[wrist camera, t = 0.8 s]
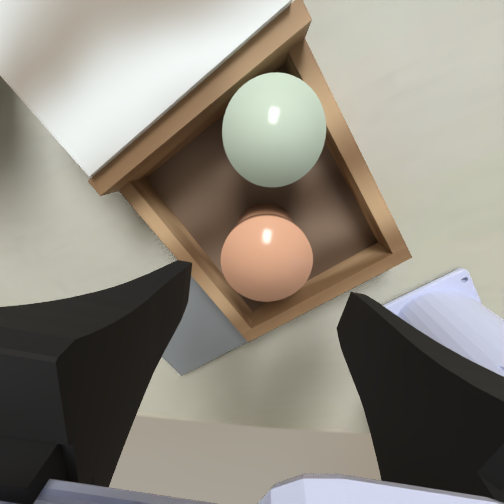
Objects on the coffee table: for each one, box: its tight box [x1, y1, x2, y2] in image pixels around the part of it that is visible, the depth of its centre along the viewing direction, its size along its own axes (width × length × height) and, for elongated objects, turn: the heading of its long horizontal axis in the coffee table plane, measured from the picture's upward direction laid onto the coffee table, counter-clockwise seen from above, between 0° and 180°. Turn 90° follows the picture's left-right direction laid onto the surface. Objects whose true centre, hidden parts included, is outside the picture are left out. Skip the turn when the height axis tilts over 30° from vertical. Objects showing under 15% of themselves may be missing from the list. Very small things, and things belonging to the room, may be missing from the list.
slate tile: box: [162, 276, 248, 376], centre depth 24 cm, size 9×9×1 cm
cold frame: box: [0, 0, 412, 342], centre depth 16 cm, size 24×14×5 cm, turn 34°
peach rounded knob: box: [221, 203, 313, 302], centre depth 17 cm, size 5×5×6 cm
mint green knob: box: [222, 72, 326, 187], centre depth 15 cm, size 5×5×6 cm
